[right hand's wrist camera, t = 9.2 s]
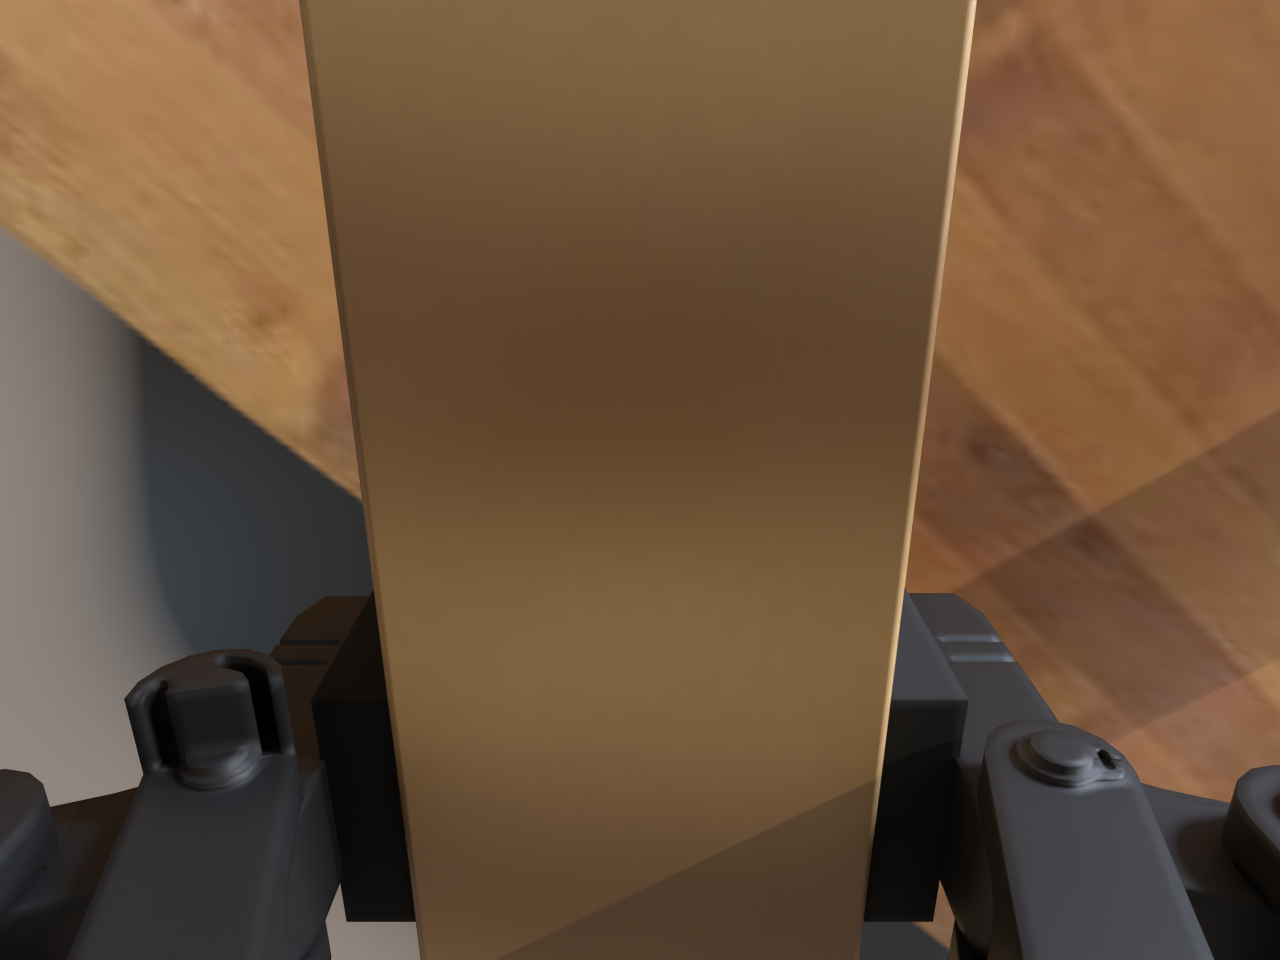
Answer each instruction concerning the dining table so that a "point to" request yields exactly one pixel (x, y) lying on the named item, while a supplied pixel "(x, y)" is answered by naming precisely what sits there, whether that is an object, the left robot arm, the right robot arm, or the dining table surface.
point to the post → (638, 445)
